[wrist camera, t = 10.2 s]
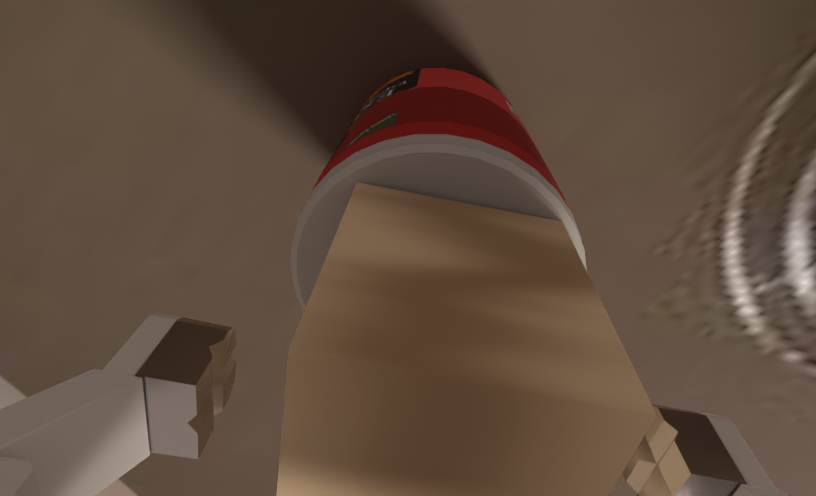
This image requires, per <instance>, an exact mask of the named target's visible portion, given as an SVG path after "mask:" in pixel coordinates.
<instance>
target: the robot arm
mask: <svg viewBox="0 0 816 496" xmlns="http://www.w3.org/2000/svg"><path fill="white" fill-rule="evenodd" d="M235 345H236V331H235V329H234V328H232V327H227V326H222V325H217V324H212V323H207V322H203V321H198V320H193V319H188V318H183V317H182V318H180V317H176V316H171V315H166V314H161V313H157V312H156V313H154V314H152V315H150V316H148V317H147V318H146V320H145V321H144V322H143V323H142V324H141V325H140V327H139V328H138V329H137V330H136V331H135V332H134V333H133V335H132V336H131V337H130V338H129V339H128V340H127V342H126V343H125V344H124V345H123V346H122V347H121V349H120V350H119V351H118V352H117V353H116V354H115V355H114V357H113V358H112V359H111V360H110V361H109V362H108V364H107V365H106V366H105V367H104V368H103V369H102V370H97V369H92V370H90V371H88V372H85V373H83V374H81V375H78V376H76V377H74V378H71V379H69V380H67V381H65V382H62V383H60V384H58V385H55V386H53V387H51V388H49V389H46V390H44V391H42V392H39V393H37V394H35V395H33V396H30V397H28V398H26V399H23V400H21V401H19V402H16V403H14V404H12V405H10V406H7V407H5V408H3V409H0V496H95V495H96V494H98V493H99V492H100V491H102V490H103V489H105V488H106V487H107V486H109V485H110V484H111V483H113V482H114V481H115V480H117V479H118V478H120V477H121V476H122V475H124V474H125V473H126V472H128V471H129V470H130V469H132V468H133V467H135V466H136V465H137V464H139V463H140V462H141V461H143V460H144V459H145V458H147V457H148V456H149V455H150V452H152V453H159V454H166V455H173V456H180V457H187V458H194V459H199V457H200V455H201V453H202V451H203V449H204V447H205V445H206V443H207V441H208V439H209V437H210V435H211V433H212V431H213V429H214V415H216V414H218V413H219V412H221V411H223V409H224V407H225V405H226V403H227V401H228V399H229V396H230V393H231V390H232V387H233V383H234V377H235V370H236V362H235V360H234V359H233V358H232V356H231V353H232V351H233V349H234V347H235ZM651 405H652V407H653V409H654V411H655V413H656V415H657V416H656V418H655V419H654V421H653V423H652V424H651V426H650V428H649V429H648V431H647V433H646V434H645V436H644V437H643V439H642V441H641V442H640V444H639V446H638V447H637V449H636V451H635V452H634V454H633V456H632V457H631V459H630V461H629V462H628V464H627V466H626V467H625V469H624V471H623V474H624V477H625V480H626V482H627V483H628V484H629V485H630V486H631V487H632V488H633V489H634V490H635V491H636V492H637V493H638V494H637V496H790V495H789V494H787V493H786V492H782V491H778V490H777V489H776V487H775V486H774V484H773V483H772V481H771V480H770V478H769V477H768V475H767V474H766V472H765V471H764V469H763V468H762V466H761V464H760V463H759V461H758V460H757V458H756V457H755V455H754V454H753V452H752V451H751V449H750V448H749V446H748V445H747V443H746V441H745V440H744V438H743V437H742V435H741V434H740V432H739V431H738V429H737V428H736V426H735V425H734V423H733V422H732V421H731V420H729V419H728V418H727V417H725V416H720V415H714V414H708V413H702V412H699V413H697V412H693V411H688V410H682V409H676V408H670V407H665V406H659V405H653V404H651Z"/></svg>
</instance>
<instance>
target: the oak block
mask: <svg viewBox="0 0 816 496" xmlns="http://www.w3.org/2000/svg"><path fill="white" fill-rule="evenodd" d="M656 416H657V415H656V413H655V411H654V409H653V407H652V405H651V402H650V400H649V398H648V396H647V394H646V392H645V390H644V388H643V386H642V384H641V382H640V380H639V378H638V376H637V374H636V372H635V370H634V368H633V365H632V363H631V361H630V359H629V357H628V355H627V353H626V351H625V349H624V347H623V345H622V343H621V341H620V339H619V337H618V335H617V333H616V331H615V328H614V326H613V324H612V322H611V320H610V318H609V316H608V314H607V312H606V310H605V308H604V306H603V304H602V302H601V300H600V298H599V296H598V294H597V291H596V289H595V287H594V285H593V283H592V281H591V279H590V277H589V275H588V273H587V271H586V269H585V267H584V265H583V263H582V261H581V259H580V257H579V254H578V252H577V250H576V248H575V246H574V244H573V242H572V240H571V238H570V236H569V234H568V232H567V230H566V228H565V226H564V224H563V222H562V221H557V220H552V219H547V218H542V217H536V216H531V215H526V214H521V213H516V212H510V211H505V210H500V209H495V208H489V207H484V206H479V205H474V204H469V203H463V202H458V201H453V200H448V199H443V198H437V197H432V196H427V195H422V194H417V193H411V192H406V191H401V190H396V189H390V188H385V187H380V186H375V185H370V184H364V183H359V182H357V183H356V185H355V188H354V190H353V193H352V195H351V198H350V200H349V202H348V205H347V207H346V210H345V212H344V215H343V217H342V220H341V222H340V225H339V227H338V230H337V232H336V234H335V237H334V239H333V242H332V244H331V247H330V249H329V252H328V254H327V257H326V259H325V262H324V264H323V266H322V269H321V271H320V274H319V276H318V279H317V281H316V284H315V286H314V289H313V291H312V294H311V296H310V298H309V301H308V303H307V306H306V308H305V311H304V313H303V316H302V318H301V321H300V323H299V326H298V328H297V330H296V333H295V335H294V338H293V340H292V343H291V345H290V348H289V352H288V365H287V377H286V389H285V401H284V413H283V425H282V437H281V449H280V461H279V473H278V485H277V496H608V495H609V494H610V492H611V490H612V489H613V487H614V485H615V484H616V482H617V481H618V479H619V477H620V476H621V474H622V472H623V471H624V469H625V467H626V466H627V464H628V462H629V461H630V459H631V457H632V456H633V454H634V452H635V451H636V449H637V447H638V446H639V444H640V442H641V441H642V439H643V437H644V436H645V434H646V433H647V431H648V429H649V428H650V426H651V424H652V423H653V421H654V419H655V418H656Z"/></svg>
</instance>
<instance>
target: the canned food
mask: <svg viewBox="0 0 816 496" xmlns="http://www.w3.org/2000/svg"><path fill="white" fill-rule="evenodd" d="M357 182H359V183H364V184H370V185H375V186H380V187H385V188H390V189H396V190H401V191H406V192H411V193H417V194H422V195H427V196H432V197H437V198H443V199H448V200H453V201H458V202H463V203H469V204H474V205H479V206H484V207H489V208H495V209H500V210H505V211H510V212H516V213H521V214H526V215H531V216H536V217H542V218H547V219H552V220H557V221H562V222H563V224H564V226H565V228H566V230H567V232H568V234H569V236H570V238H571V240H572V242H573V244H574V246H575V248H576V250H577V252H578V254H579V257H580V259H581V261H582V263H583V265H584V267H585V269H586V260H585V251H584V247H583V245H582V240H581V236H580V233H579V231H578V228H577V225H576V222H575V220H574V217H573V214H572V212H571V210H570V209H569V207H568V205H567V203H566V201H565V198H564V196H563V194H562V192H561V190H560V189H559V187H558V185H557V183H556V181H555V180H554V178H553V176H552V174H551V173H550V171H549V169H548V167H547V165H546V164H545V162H544V160H543V158H542V157H541V155H540V153H539V151H538V149H537V148H536V146H535V144H534V142H533V141H532V139H531V137H530V135H529V133H528V132H527V130H526V128H525V126H524V125H523V123H522V121H521V119H520V117H519V116H518V114H517V113H516V111H515V110H514V108H513V107H512V105H511V103H510V102H509V101H508V100H507V99H506V98H505V97H504V96H503V95H502V94H501V93H500V92H499V91H498V90H497V89H496V88H494V87H493V86H491V85H490V84H488V83H487V82H485V81H484V80H482V79H481V78H478V77H476V76H473V75H471V74H468V73H466V72H464V71H459V70H453V69H448V68H423V69H419V70H414V71H410V72H406V73H404V74H402V75H400V76H397V77H395V78H393V79H391V80H389V81H388V82H386V83H385V84H384V85H382V86H381V87H380V88H378V89H377V90H376V91H375V92H374V93H373V94H372V95H371V96H370V98H369V99H368V100H367V101H366V102H365V103H364V105H363V106H362V108H361V110H360V111H359V113H358V115H357V116H356V118H355V119H354V121H353V123H352V124H351V126H350V128H349V129H348V131H347V133H346V134H345V136H344V138H343V139H342V141H341V142H340V144H339V146H338V147H337V149H336V151H335V152H334V154H333V156H332V157H331V159H330V160H329V162H328V164H327V165H326V167H325V169H324V170H323V172H322V174H321V175H320V177H319V179H318V181H317V183H316V185H315V186H314V188H313V190H312V192H311V194H310V196H309V198H308V200H307V202H306V203H305V205H304V207H303V209H302V211H301V213H300V217H299V221H298V223H297V227H296V231H295V235H294V238H293V242H292V246H291V274H292V279H293V284H294V289H295V293H296V296H297V298H298V301H299V303H300V305H301V307H302V310H303V312H304V311H305V308H306V306H307V303H308V301H309V298H310V296H311V294H312V291H313V289H314V286H315V284H316V281H317V279H318V276H319V274H320V271H321V269H322V266H323V264H324V262H325V259H326V257H327V254H328V252H329V249H330V247H331V244H332V242H333V239H334V237H335V234H336V232H337V230H338V227H339V225H340V222H341V220H342V217H343V215H344V212H345V210H346V207H347V205H348V202H349V200H350V198H351V195H352V193H353V190H354V188H355V185H356V183H357ZM586 271H587V269H586Z"/></svg>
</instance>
